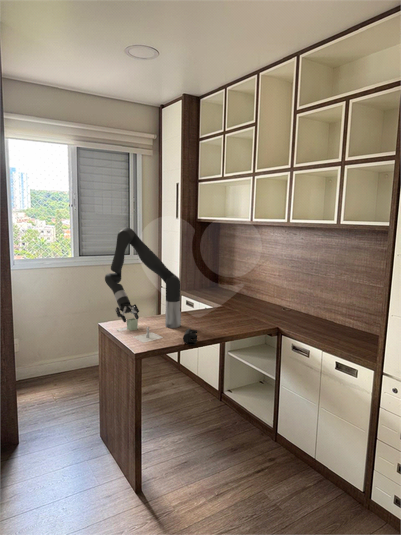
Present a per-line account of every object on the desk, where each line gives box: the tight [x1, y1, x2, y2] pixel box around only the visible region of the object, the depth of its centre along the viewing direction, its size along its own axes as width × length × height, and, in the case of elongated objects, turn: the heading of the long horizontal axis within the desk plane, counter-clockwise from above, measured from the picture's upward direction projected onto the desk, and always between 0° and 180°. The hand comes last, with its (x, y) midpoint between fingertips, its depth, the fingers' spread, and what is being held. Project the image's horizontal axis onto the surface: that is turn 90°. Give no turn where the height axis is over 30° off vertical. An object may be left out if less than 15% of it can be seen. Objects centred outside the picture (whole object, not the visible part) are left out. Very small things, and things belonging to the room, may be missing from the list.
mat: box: [116, 326, 128, 332], centre depth 225 cm, size 14×14×1 cm
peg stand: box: [132, 326, 164, 344], centre depth 210 cm, size 14×12×8 cm
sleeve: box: [126, 317, 139, 331], centre depth 225 cm, size 5×5×7 cm
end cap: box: [182, 328, 198, 346], centre depth 208 cm, size 10×7×7 cm
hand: (131, 320), depth 225 cm, fingers open, 8 cm apart
